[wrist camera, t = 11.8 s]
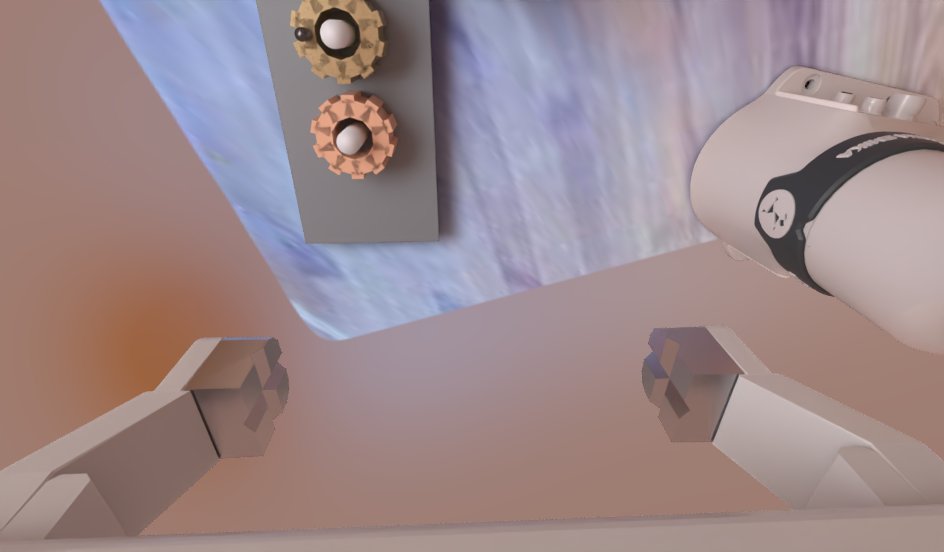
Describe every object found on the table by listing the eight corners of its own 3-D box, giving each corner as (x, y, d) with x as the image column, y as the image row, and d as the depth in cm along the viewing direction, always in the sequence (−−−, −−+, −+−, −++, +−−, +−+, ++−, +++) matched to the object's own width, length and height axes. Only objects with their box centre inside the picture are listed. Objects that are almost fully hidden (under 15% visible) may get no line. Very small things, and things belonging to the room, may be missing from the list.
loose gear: (394, 89, 37) (389, 94, 34) (400, 168, 40) (397, 178, 37) (314, 90, 36) (303, 95, 34) (327, 169, 40) (318, 179, 37)
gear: (384, -17, 33) (376, -23, 29) (392, 79, 36) (385, 85, 32) (295, -17, 33) (275, -23, 29) (311, 80, 36) (295, 85, 32)
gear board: (428, -25, 34) (423, -36, 29) (439, 233, 45) (437, 262, 40) (260, -26, 34) (222, -36, 28) (311, 235, 45) (291, 265, 39)
